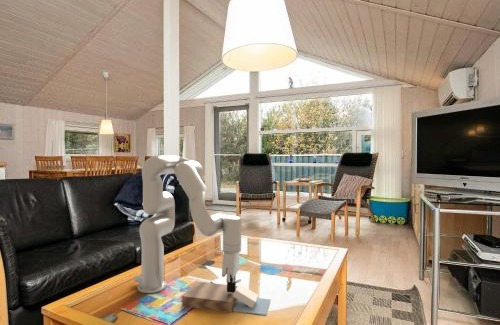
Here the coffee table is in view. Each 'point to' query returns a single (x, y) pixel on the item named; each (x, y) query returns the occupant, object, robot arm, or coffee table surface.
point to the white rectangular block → (245, 295)
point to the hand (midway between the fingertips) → (231, 291)
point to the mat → (258, 308)
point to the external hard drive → (223, 280)
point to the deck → (209, 297)
